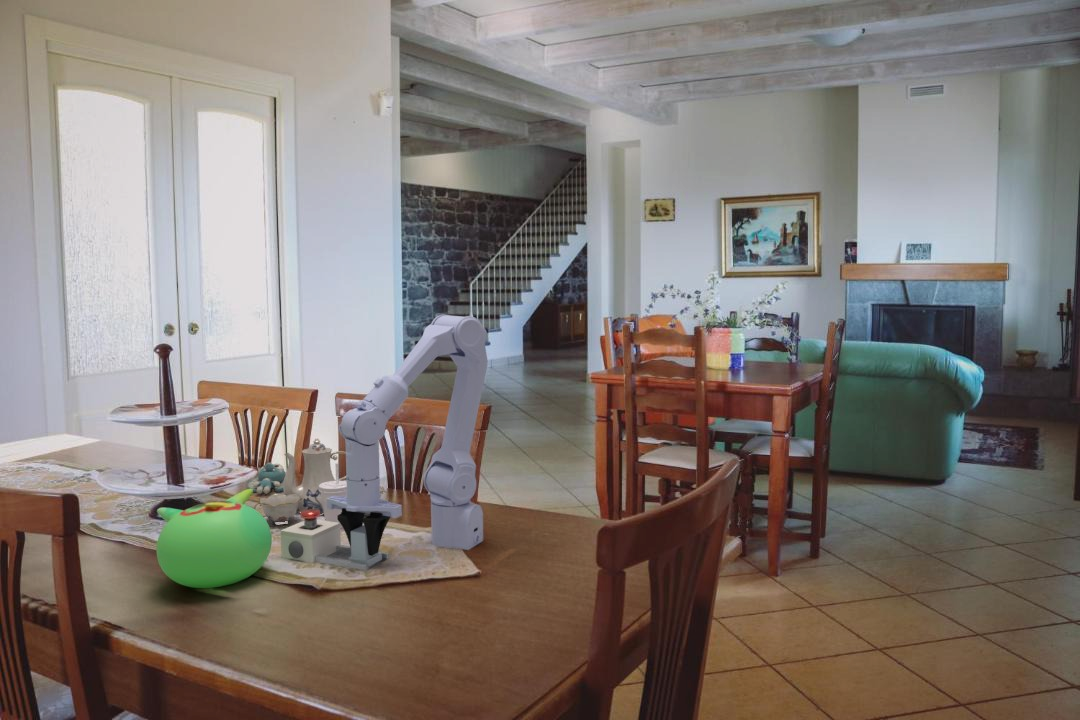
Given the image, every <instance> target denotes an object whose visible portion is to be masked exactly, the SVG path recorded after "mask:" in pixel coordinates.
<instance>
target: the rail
mask: <svg viewBox="0 0 1080 720" xmlns="http://www.w3.org/2000/svg"><path fill="white" fill-rule="evenodd" d="M379 553H382V560H380V561H379V562H377V563H375V564H373V565H371V566H369V564H367V563H361V562H355V561H349V560H348V558H349V557H351V547H350V545H343V544H341V545H337V546H336V552H334V553H332V554H330V555H328V556H326V557H325V556H319V555H317V556H315V557H314V558H315V562H314V563H319V564H324V565H330V566H336V567H343V568H348V569H353V570H360V571H365V572H368V571H369V570H370V569H372V568H374V567H376V566H379V564H382V562H385V561H387V560H388V559H390V552H388V551H386V552H385V551H380V550H379Z"/></svg>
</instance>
